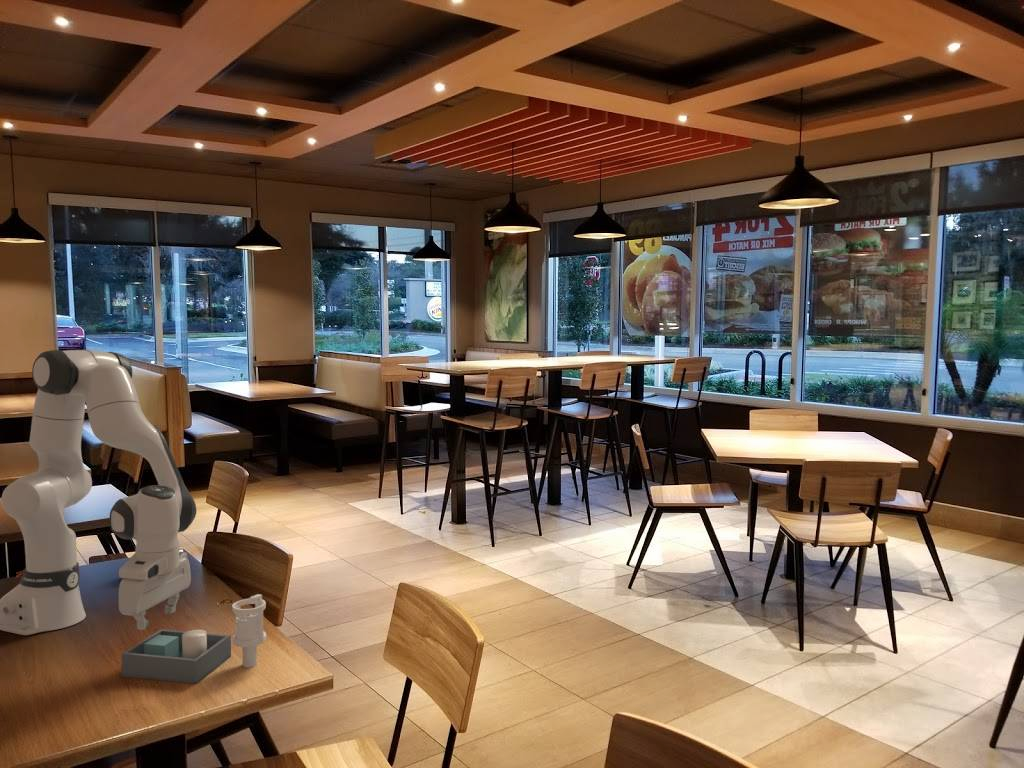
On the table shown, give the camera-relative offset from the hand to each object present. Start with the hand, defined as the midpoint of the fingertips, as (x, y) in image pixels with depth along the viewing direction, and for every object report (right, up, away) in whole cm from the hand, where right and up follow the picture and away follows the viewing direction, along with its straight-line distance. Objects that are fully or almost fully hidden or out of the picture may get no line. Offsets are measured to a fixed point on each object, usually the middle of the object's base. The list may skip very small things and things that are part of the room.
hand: (156, 620), depth 171 cm
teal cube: (+1, -9, 0) cm, 9 cm away
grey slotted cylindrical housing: (+21, -10, 0) cm, 23 cm away
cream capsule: (+9, -9, -1) cm, 13 cm away
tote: (+5, -10, -1) cm, 11 cm away
